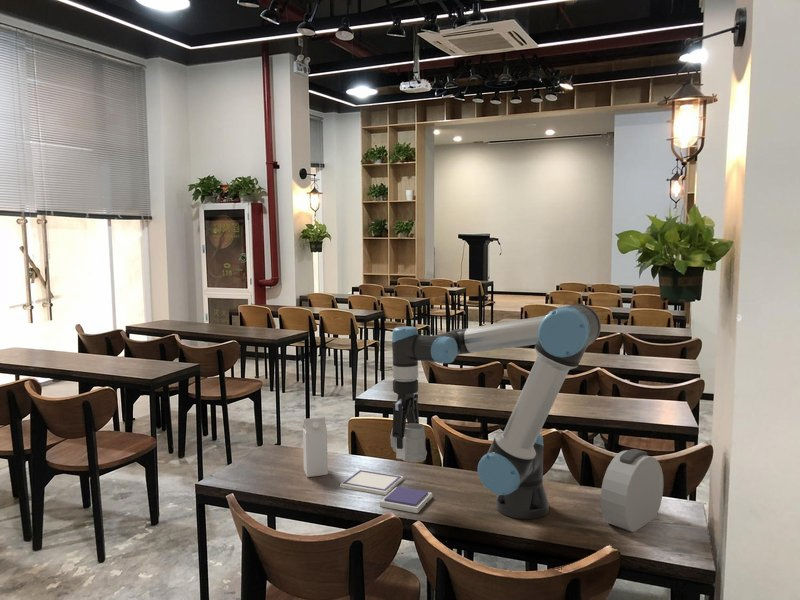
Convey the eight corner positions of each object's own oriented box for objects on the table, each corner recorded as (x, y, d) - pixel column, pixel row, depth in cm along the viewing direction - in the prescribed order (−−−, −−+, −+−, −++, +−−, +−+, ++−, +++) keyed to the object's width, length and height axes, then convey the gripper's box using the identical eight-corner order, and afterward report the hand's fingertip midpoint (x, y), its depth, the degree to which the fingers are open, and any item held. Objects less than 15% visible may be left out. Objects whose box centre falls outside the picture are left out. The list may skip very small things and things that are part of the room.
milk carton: (303, 470, 211) (302, 416, 209) (324, 467, 213) (323, 414, 211) (306, 477, 204) (305, 422, 203) (327, 475, 206) (326, 420, 205)
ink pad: (432, 497, 187) (432, 490, 187) (417, 513, 176) (417, 506, 176) (396, 491, 192) (396, 484, 192) (379, 506, 181) (379, 499, 181)
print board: (403, 479, 202) (403, 475, 202) (385, 495, 189) (385, 491, 189) (360, 472, 209) (360, 468, 208) (340, 487, 196) (339, 483, 196)
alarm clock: (638, 505, 181) (639, 439, 179) (662, 513, 175) (665, 446, 173) (599, 527, 167) (601, 456, 165) (625, 537, 161) (627, 464, 159)
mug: (419, 464, 177) (419, 424, 176) (384, 458, 183) (383, 419, 182) (431, 456, 183) (430, 417, 182) (397, 450, 189) (396, 412, 188)
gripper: (407, 371, 192) (408, 442, 194) (379, 385, 173) (380, 463, 175) (429, 373, 189) (430, 445, 191) (403, 387, 170) (404, 467, 172)
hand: (406, 454), depth 183 cm, fingers closed on mug, 7 cm apart
